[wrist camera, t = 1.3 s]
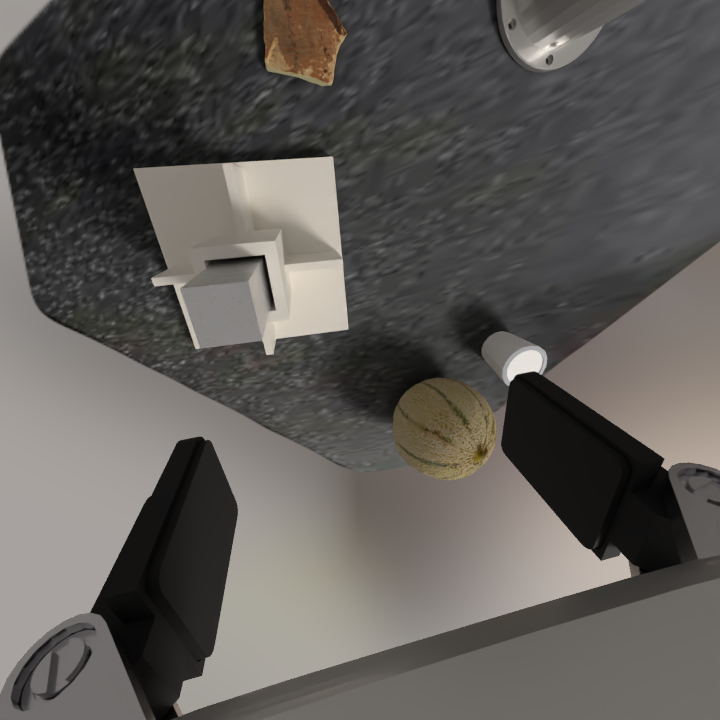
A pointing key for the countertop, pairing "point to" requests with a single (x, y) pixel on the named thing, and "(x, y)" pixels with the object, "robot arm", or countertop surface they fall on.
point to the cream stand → (255, 234)
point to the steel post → (229, 301)
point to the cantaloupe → (444, 428)
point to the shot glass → (512, 355)
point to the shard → (302, 39)
